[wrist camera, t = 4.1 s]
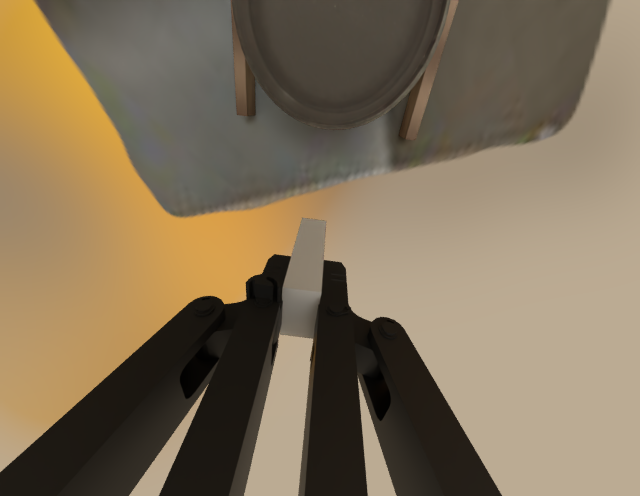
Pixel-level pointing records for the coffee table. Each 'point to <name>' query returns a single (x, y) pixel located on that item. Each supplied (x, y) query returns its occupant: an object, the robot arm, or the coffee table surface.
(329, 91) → the coffee can
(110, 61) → the coffee table surface
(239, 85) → the slot rails
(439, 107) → the coffee table surface
